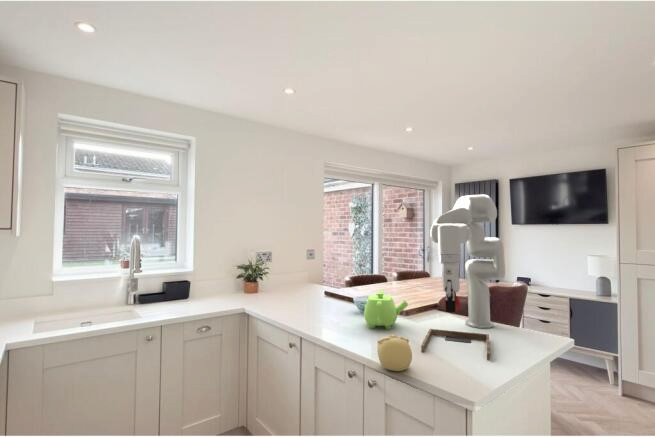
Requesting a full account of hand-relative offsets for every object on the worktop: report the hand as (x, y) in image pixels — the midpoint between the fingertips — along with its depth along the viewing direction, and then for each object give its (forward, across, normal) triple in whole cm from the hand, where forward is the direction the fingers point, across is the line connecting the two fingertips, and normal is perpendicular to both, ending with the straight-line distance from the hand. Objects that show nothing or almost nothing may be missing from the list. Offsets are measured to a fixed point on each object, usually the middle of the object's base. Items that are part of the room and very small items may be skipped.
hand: (451, 309), depth 123 cm
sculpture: (+19, -12, +18) cm, 29 cm away
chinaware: (+20, +59, +51) cm, 80 cm away
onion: (+2, 0, 0) cm, 2 cm away
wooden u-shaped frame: (+19, +18, 0) cm, 26 cm away
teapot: (+19, +38, +34) cm, 55 cm away
